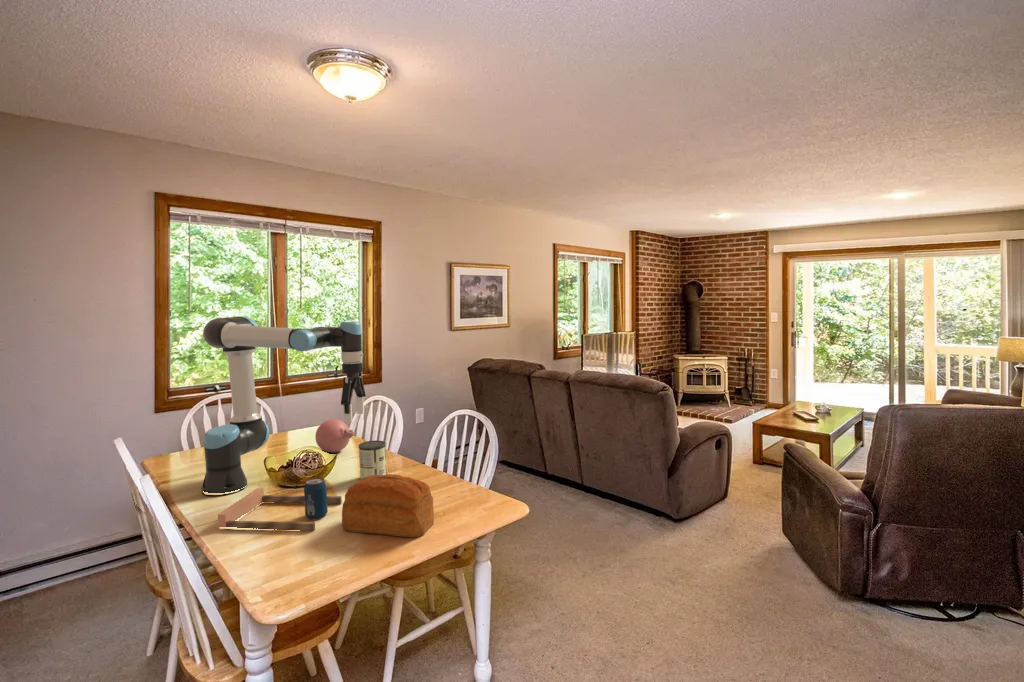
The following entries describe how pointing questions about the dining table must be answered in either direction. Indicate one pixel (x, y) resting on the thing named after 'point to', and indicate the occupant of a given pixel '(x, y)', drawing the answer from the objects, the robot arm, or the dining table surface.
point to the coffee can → (372, 458)
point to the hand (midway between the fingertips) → (354, 417)
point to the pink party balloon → (333, 435)
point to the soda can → (315, 498)
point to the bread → (388, 506)
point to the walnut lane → (282, 525)
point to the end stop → (241, 507)
